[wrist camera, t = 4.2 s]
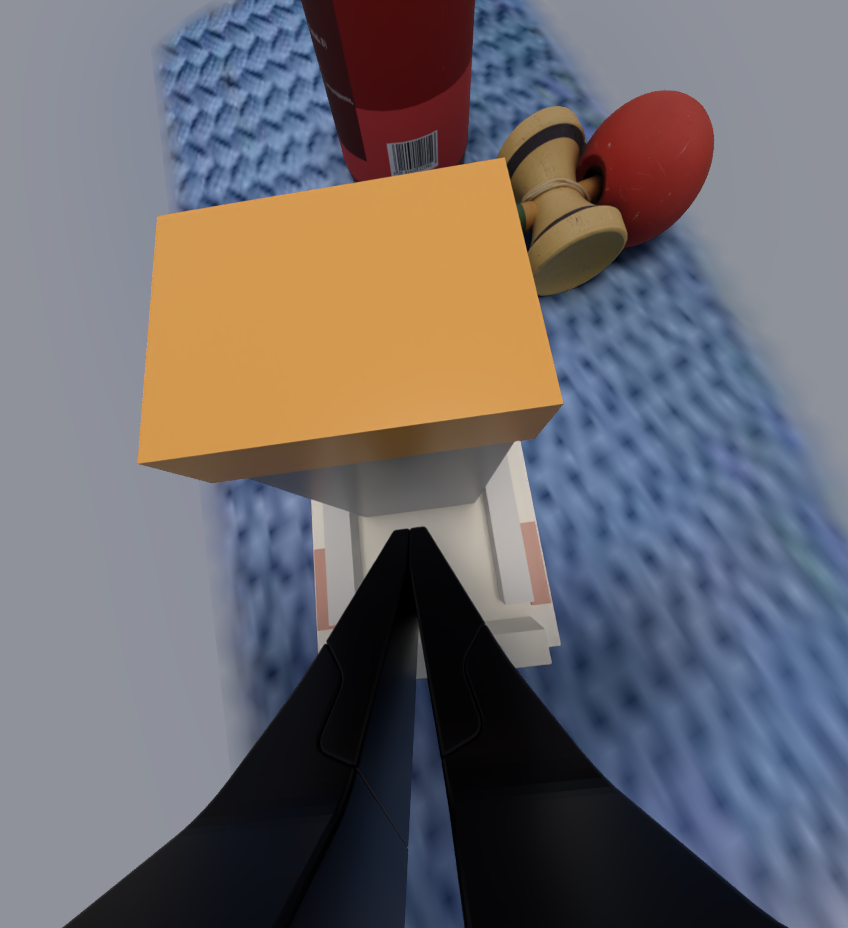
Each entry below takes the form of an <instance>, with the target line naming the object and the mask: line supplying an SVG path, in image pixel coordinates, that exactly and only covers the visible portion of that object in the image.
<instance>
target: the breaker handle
mask: <svg viewBox="0 0 848 928" xmlns="http://www.w3.org/2000/svg"><path fill="white" fill-rule="evenodd" d="M562 405H563V400H562V396H561V392H560V388H559V383H558V379H557V375H556V371H555V366H554V362H553V358H552V354H551V350H550V345H549V341H548V337H547V333H546V329H545V324H544V320H543V316H542V312H541V308H540V303H539V299H538V295H537V291H536V287H535V282H534V278H533V274H532V270H531V266H530V261H529V257H528V253H527V249H526V245H525V240H524V236H523V232H522V228H521V224H520V219H519V215H518V211H517V207H516V203H515V198H514V194H513V190H512V186H511V181H510V177H509V173H508V169H507V165H506V160H505V157H504V158H498V159H493V160H487V161H481V162H475V163H469V164H463V165H457V166H451V167H445V168H439V169H433V170H427V171H421V172H416V173H410V174H404V175H398V176H392V177H386V178H380V179H374V180H368V181H362V182H356V183H350V184H345V185H339V186H333V187H327V188H321V189H315V190H309V191H303V192H297V193H291V194H285V195H279V196H273V197H268V198H262V199H256V200H250V201H244V202H238V203H232V204H226V205H220V206H214V207H208V208H202V209H196V210H191V211H185V212H179V213H173V214H168V215H161V216H157V227H156V240H155V253H154V266H153V277H152V290H151V302H150V315H149V327H148V340H147V353H146V365H145V377H144V389H143V402H142V414H141V427H140V439H139V453H138V464H140V465H144V466H148V467H152V468H156V469H160V470H163V471H167V472H171V473H175V474H179V475H183V476H186V477H191V478H194V479H198V480H202V481H206V482H210V483H216V482H224V481H231V480H238V479H246V478H249V479H252V480H255V481H258V482H261V483H264V484H267V485H270V486H273V487H276V488H279V489H282V490H285V491H288V492H291V493H294V494H297V495H300V496H303V497H306V498H309V499H312V500H315V501H318V502H321V503H324V504H327V505H330V506H333V507H336V508H339V509H342V510H345V511H348V512H351V513H354V514H357V515H360V516H363V517H372V516H379V515H387V514H395V513H402V512H410V511H418V510H425V509H433V508H441V507H448V506H456V505H463V504H471V503H475V502H476V501H477V499H478V497H479V496H480V494H481V493H482V491H483V490H484V488H485V487H486V485H487V484H488V482H489V480H490V479H491V477H492V476H493V474H494V473H495V471H496V470H497V468H498V467H499V465H500V463H501V462H502V460H503V459H504V457H505V456H506V454H507V453H508V451H509V450H510V448H511V446H512V445H513V443H514V442H515V441H522V440H530V439H535V438H536V437H537V435H538V434H539V433H540V432H541V431H542V429H543V428H544V427H545V426H546V424H547V423H548V422H549V421H550V420H551V418H552V417H553V416H554V415H555V413H556V412H557V411H558V410H559V409H560V407H561V406H562Z"/></svg>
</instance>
